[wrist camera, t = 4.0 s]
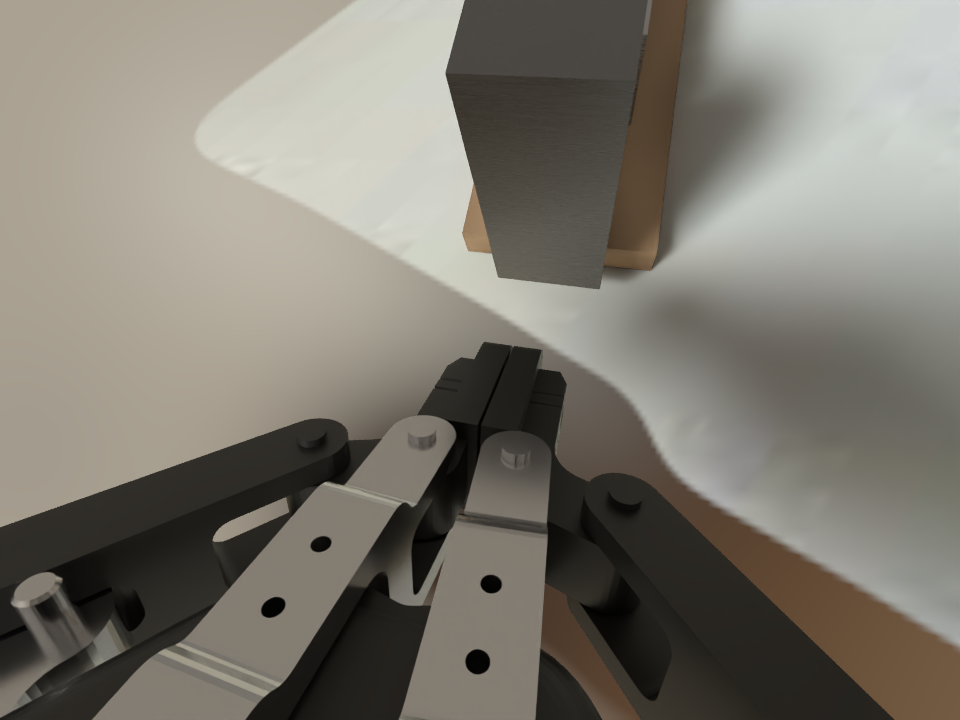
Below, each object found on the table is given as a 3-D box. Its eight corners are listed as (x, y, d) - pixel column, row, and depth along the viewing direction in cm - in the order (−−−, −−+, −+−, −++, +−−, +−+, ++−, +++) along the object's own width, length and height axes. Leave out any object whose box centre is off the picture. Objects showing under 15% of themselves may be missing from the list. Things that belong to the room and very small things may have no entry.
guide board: (692, -74, 27) (699, -107, 25) (650, 270, 22) (657, 253, 20) (540, -72, 28) (539, -102, 27) (468, 250, 23) (462, 233, 22)
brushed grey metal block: (647, -32, 24) (704, -389, 14) (599, 289, 20) (636, 80, 10) (561, -32, 25) (563, -371, 15) (498, 277, 21) (445, 73, 11)
